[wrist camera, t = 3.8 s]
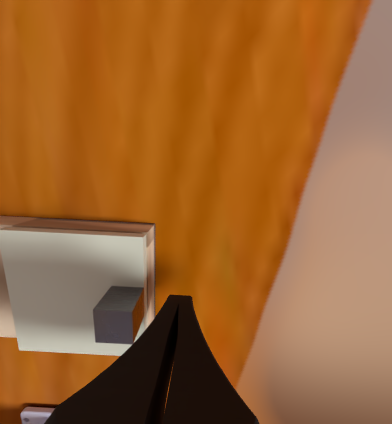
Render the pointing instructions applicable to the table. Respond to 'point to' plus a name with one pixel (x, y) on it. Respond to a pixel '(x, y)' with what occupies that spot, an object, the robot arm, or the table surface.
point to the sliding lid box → (3, 318)
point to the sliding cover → (75, 289)
